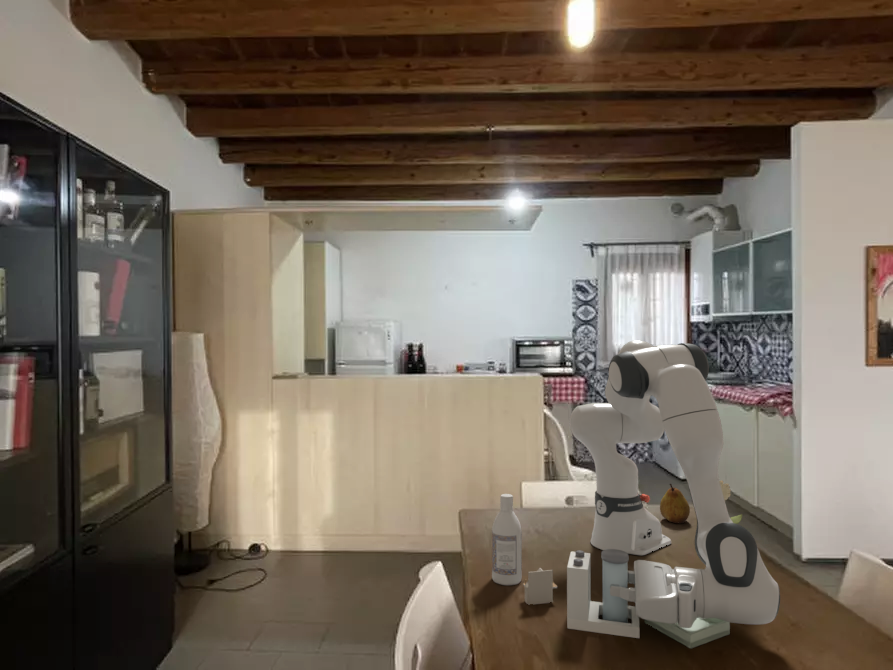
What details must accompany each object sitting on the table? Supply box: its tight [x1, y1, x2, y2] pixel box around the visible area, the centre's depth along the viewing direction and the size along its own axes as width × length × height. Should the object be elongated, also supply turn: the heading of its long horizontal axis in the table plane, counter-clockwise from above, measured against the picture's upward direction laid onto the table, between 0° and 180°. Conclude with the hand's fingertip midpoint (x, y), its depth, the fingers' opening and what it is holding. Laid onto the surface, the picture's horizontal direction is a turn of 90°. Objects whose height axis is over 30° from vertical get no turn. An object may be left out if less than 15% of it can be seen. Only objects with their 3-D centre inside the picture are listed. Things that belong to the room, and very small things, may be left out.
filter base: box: [566, 549, 640, 639], centre depth 118 cm, size 14×9×13 cm, turn 73°
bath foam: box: [491, 493, 523, 586], centre depth 139 cm, size 7×7×20 cm
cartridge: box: [600, 549, 630, 623], centre depth 117 cm, size 5×5×14 cm
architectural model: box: [523, 567, 558, 606], centre depth 128 cm, size 3×7×7 cm, turn 102°
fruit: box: [659, 483, 691, 524], centre depth 183 cm, size 9×9×12 cm
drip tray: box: [644, 618, 731, 649], centre depth 116 cm, size 11×11×2 cm
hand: (610, 583), depth 118 cm, fingers closed on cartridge, 5 cm apart
